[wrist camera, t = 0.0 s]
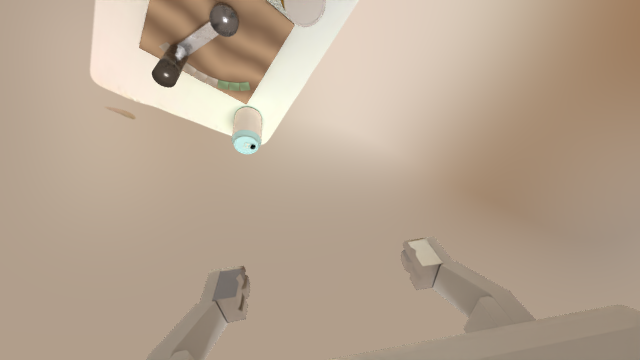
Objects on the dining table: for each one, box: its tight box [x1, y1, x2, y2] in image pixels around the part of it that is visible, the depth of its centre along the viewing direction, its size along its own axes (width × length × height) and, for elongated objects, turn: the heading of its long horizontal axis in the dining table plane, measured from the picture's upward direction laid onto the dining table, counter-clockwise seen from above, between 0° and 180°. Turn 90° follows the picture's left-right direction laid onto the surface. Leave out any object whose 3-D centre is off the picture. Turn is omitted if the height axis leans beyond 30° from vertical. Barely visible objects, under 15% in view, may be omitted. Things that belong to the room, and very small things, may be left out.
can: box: [232, 107, 262, 154], centre depth 60 cm, size 7×7×12 cm
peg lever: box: [152, 3, 239, 87], centre depth 42 cm, size 18×5×12 cm, turn 116°
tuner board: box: [139, 0, 294, 104], centre depth 47 cm, size 22×23×1 cm
